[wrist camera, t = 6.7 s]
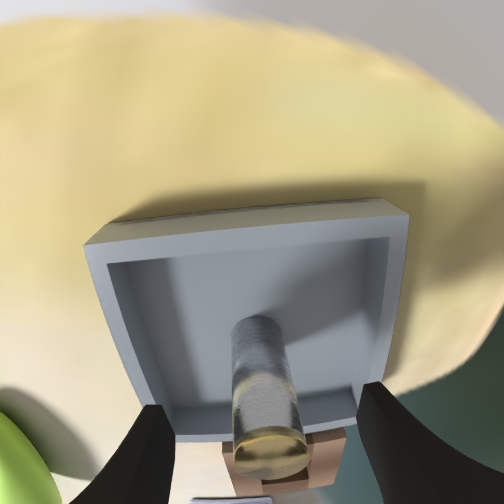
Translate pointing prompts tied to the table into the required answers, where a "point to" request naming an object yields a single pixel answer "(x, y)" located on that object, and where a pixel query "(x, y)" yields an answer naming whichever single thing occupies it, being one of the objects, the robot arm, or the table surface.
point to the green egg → (23, 469)
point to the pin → (264, 403)
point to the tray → (252, 303)
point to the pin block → (312, 476)
